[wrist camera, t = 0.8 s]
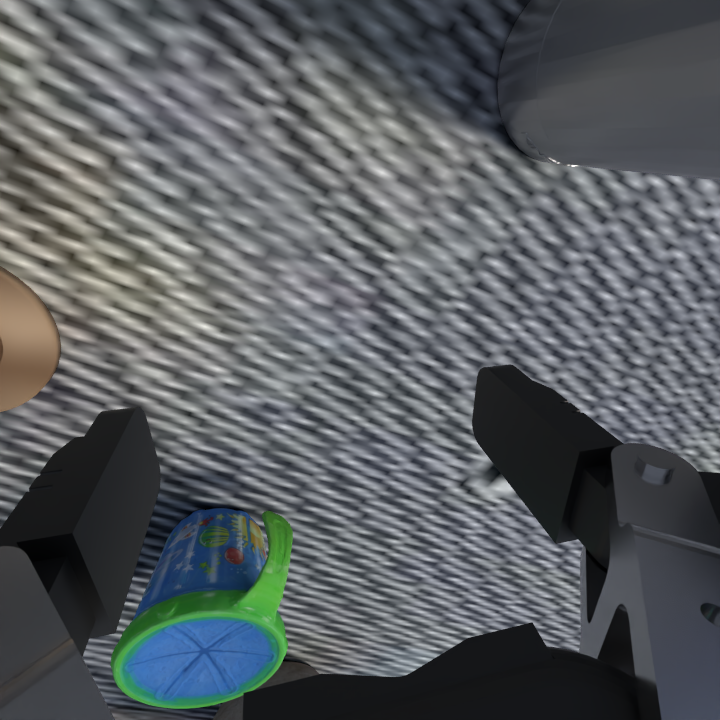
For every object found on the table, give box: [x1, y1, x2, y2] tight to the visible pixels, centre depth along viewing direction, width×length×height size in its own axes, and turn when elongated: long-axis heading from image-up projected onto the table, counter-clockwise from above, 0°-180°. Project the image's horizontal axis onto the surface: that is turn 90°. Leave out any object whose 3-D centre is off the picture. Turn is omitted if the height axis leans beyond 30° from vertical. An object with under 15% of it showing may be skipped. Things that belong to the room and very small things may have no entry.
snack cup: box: [110, 508, 293, 709], centre depth 31 cm, size 16×10×10 cm
